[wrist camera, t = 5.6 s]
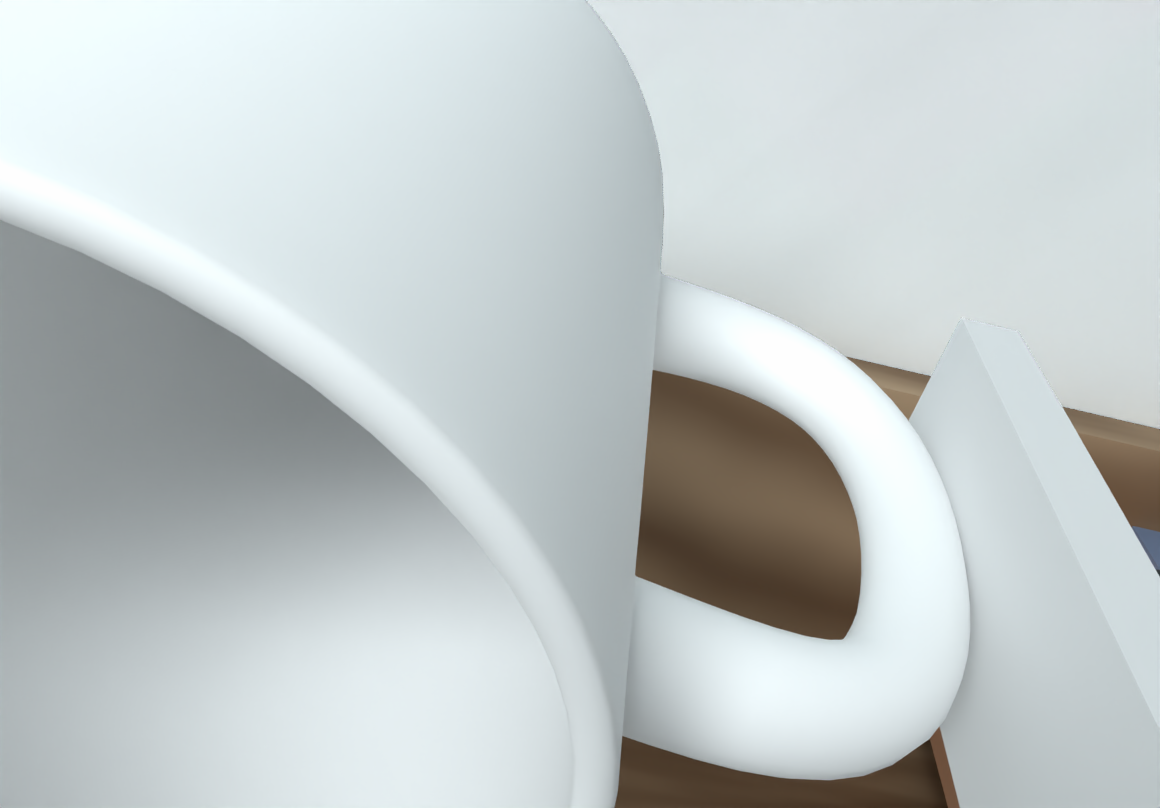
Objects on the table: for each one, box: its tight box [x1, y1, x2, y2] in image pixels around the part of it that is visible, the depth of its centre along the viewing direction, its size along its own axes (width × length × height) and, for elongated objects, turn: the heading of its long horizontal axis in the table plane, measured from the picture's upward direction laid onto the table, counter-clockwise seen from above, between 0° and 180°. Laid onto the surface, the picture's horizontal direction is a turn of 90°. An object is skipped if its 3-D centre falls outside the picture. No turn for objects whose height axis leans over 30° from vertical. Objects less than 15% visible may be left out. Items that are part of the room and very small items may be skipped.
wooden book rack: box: [614, 357, 1160, 808], centre depth 30 cm, size 17×28×12 cm, turn 78°
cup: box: [0, 0, 970, 808], centre depth 10 cm, size 8×12×10 cm
